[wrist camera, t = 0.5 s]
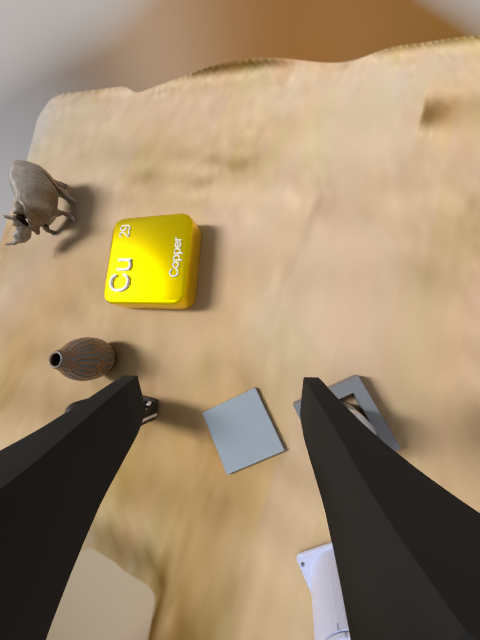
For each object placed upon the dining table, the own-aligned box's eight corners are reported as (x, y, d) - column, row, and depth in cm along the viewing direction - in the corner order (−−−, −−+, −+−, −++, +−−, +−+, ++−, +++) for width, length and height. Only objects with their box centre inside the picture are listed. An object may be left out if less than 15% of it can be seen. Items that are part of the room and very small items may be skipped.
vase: (128, 348, 39) (82, 346, 31) (111, 384, 39) (61, 393, 30) (99, 333, 41) (49, 327, 33) (84, 368, 41) (29, 371, 32)
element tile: (195, 310, 37) (181, 304, 33) (120, 308, 41) (98, 302, 37) (203, 226, 39) (191, 209, 35) (131, 231, 43) (111, 217, 39)
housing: (393, 442, 28) (401, 448, 26) (326, 468, 29) (328, 476, 27) (354, 374, 30) (358, 376, 28) (293, 402, 31) (293, 405, 29)
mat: (284, 449, 31) (284, 450, 30) (228, 472, 32) (227, 474, 32) (255, 387, 33) (255, 387, 32) (203, 412, 34) (202, 412, 34)
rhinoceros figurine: (77, 160, 45) (-18, 147, 33) (102, 232, 51) (30, 244, 39) (52, 166, 48) (-45, 156, 35) (79, 234, 54) (4, 246, 42)
